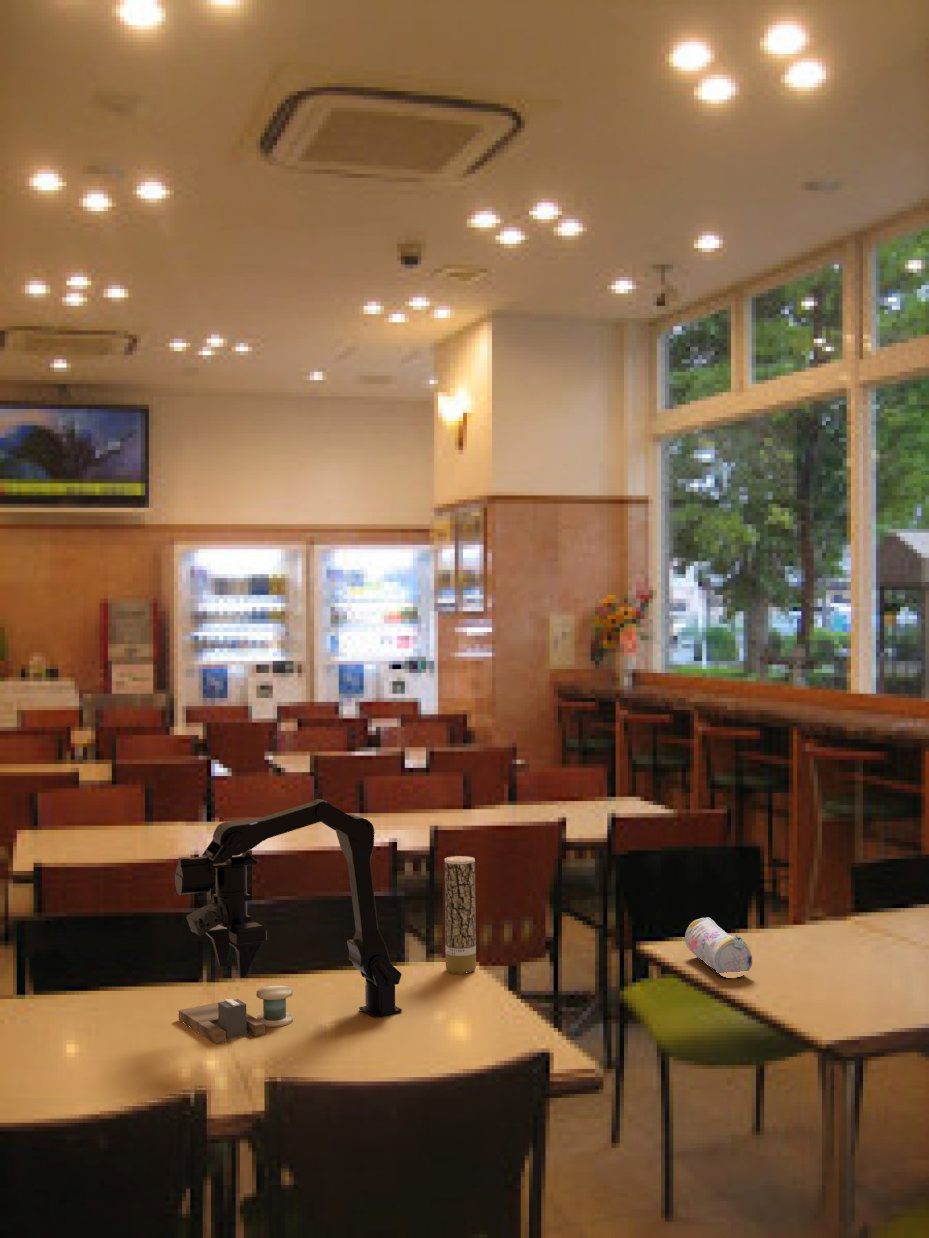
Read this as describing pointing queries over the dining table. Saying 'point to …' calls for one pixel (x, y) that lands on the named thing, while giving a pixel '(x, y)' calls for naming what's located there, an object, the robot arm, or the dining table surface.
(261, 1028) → the notch board
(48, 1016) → the dining table surface
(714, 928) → the pencil case
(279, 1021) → the bobbin
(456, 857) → the paper tube
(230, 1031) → the tab block
